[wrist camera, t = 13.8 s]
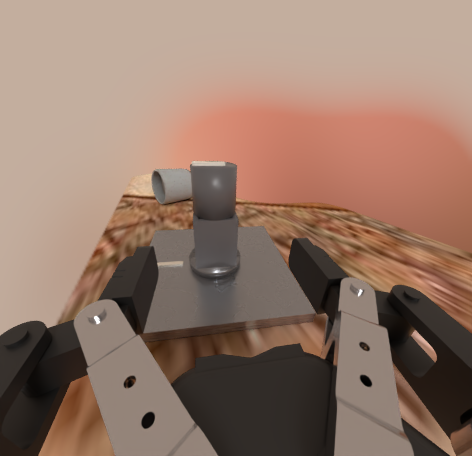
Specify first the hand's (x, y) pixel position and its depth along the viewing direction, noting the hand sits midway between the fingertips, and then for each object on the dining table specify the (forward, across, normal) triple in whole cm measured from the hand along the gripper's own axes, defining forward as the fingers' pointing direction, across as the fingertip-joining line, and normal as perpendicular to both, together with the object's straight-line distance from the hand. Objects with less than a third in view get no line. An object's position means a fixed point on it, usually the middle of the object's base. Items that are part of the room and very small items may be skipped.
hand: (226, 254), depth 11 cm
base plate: (+11, 0, +10) cm, 15 cm away
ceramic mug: (+38, +9, +10) cm, 41 cm away
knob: (+11, 0, +8) cm, 14 cm away
